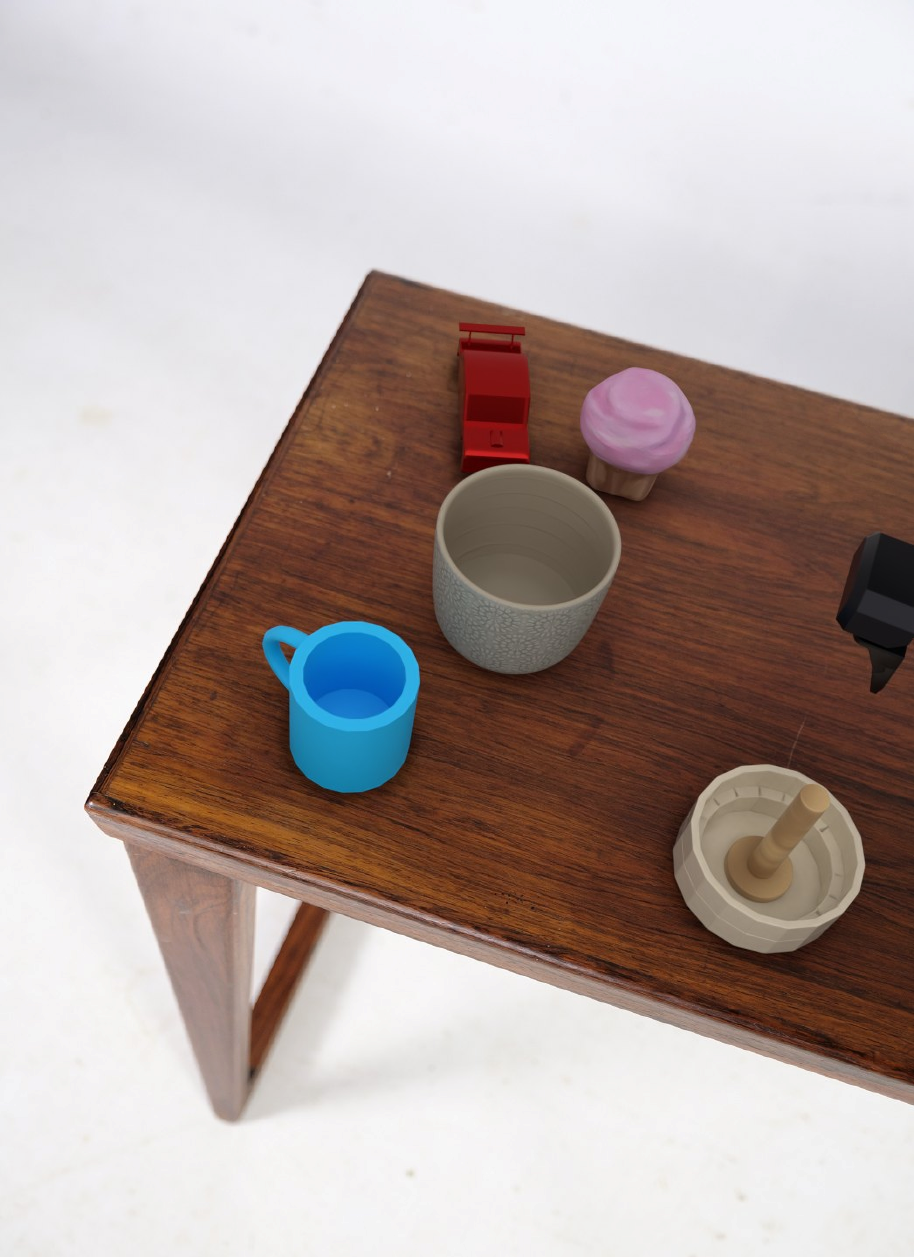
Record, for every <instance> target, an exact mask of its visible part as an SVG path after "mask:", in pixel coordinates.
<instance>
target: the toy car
mask: <svg viewBox="0 0 914 1257" xmlns="http://www.w3.org/2000/svg"><path fill="white" fill-rule="evenodd" d="M458 332H466V333H468V337H465V336H460V337H459V339H458V343H457V352H456V357H458V358H459V359H458V367H457V368H458V370H457V373H458V374H457V384H458V385H457V390H458V391H457V392H458V419H459V421H458V422H459V440H460V441H462V444H461V463H460V470H461V473H471V474H474V473H476V472H479V471H481V470H484V469H487V468H491V467H495V466H500V465H509V464H527V465H530V462H531V451H530V437H529V416H530V407H531V400H532V399H531V383H530V373H529V372H530V370H529V361H528V356H527V354H526V353H523V351H522V342H521V340H520V341H519V340H514V338H515V336H520V337H526V327H525V326H515V325H503V324H502V325H501V324H490V323H489V324H487V323H474V322H462V321H461V322H460V321H459V322H458ZM472 333H480V334H492V335H507V336H510V337H511V338H510V340H507V339H493V338H492V339H491V338H481V337H480V338H477V337H472Z"/></svg>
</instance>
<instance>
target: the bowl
mask: <svg viewBox="0 0 914 1257" xmlns="http://www.w3.org/2000/svg"><path fill="white" fill-rule="evenodd" d="M808 784H816V785H819V786H821V787H823V788H824V789H825V790H826V791H827V793H828V794H829V797H830V805H829V807H828V808H827V810H826V811H825V812H824V813H823V814H822V816H821V817H820V818H819V819H818V820H817V822H816V823H815V824H814V825H813V827H812V828H811V829H810V830H809V831H808V833H807V834H806V835H805V836H804V837H803V839H802V840H801V841H800V842H799V843H798V845H797V846H796V847H795V848H794V849H793V851H792V852H791V853H790V854H789V855H788V856H789V858H790V860H791V863H792V867H793V879H792V883H791V885H790V887H789V888H788V890H787V891H786V892H785V893H784V894H783V895H782V896H781V897H780V898H778V899H777V900H775V901H772V902H766V903H760V902H754V901H751V900H748V899H746V898H744V897H743V896H741V895H740V894H739V893H737V892H736V891H735V890H734V889H733V887H732V886H731V885H730V883H729V882H728V880H727V877H726V874H725V870H724V860H725V856H726V854H727V852H728V850H729V849H730V847H731V846H732V845H733V844H734V843H735V842H736V841H737V840H739V839H741V838H743V837H746V836H762V837H765V836H766V835H767V833H768V832H769V831H770V829H771V828H772V827H773V826H774V824H775V823H776V822H777V820H778V819H779V818H780V816H781V815H782V814H783V812H784V811H785V810H786V809H787V807H788V806H789V805H790V803H791V802H792V801H793V799H794V798H795V797H796V796H797V794H798V793H799V792H800V790H801V789H802V788H803V787H804V786H805V785H808ZM672 848H673V849H672V854H673V855H672V856H673V857H672V858H673V872H674V878H675V881H676V883H677V886H678V888H679V890H680V893H681V895H682V897H683V900H684V902H685V904H686V906H687V907H688V908H689V910H690V911H691V912H692V913H693V914H694V916H696V918H697V919H698V920H699V921H700V922H701V924H702V925H703V926H704V927H705V928H706V929H707V930H708V931H710V932H711V933H713V934H715V935H717V936H718V937H719V938H721V939H722V940H724V941H725V942H728V943H729V944H731V945H732V946H735V947H738V948H741V949H746V950H748V951H749V950H750V951H753V952H757V953H760V954H774V953H787V952H794V951H797V950H798V949H800V948H802V947H805V946H806V945H808V944H810V943H812V942H813V941H816V940H818V939H819V938H820V936H822V935H823V934H824V933H825V932H826V930H828V929H829V928H830V927H831V926H832V925H833V924H834V923H835V922H836V921H837V920H838V919H839V918H841V916H842V915H843V914H844V913H845V912H846V910H847V909H848V908H849V906H850V905H851V904H852V902H853V901H854V900H855V899H856V897H857V896H858V895H859V894H860V890H861V886H862V883H863V877H864V874H865V869H866V861H865V860H866V859H865V855H864V854H865V853H864V848H863V841H862V837H861V833H860V832H859V830H858V828H857V827H856V825H855V823H854V821H853V819H852V817H851V815H850V813H849V812H848V809H847V808H846V807H845V806H844V805H843V804H842V803H841V802H840V801H839V800H838V799H837V798H836V797H835V796H834V795H833V794H832V793H831V792H830V791H829V790H828V789H827V788H826V787H825V786H824V785H822V784H820V783H818V782H816V781H815V780H814V779H811V778H809V777H808V776H806V775H805V774H803V773H802V772H799V771H797V770H793V769H790V768H786V767H781V766H778V765H774V764H768V763H767V764H766V763H765V764H752V765H749V764H748V765H740V766H737V767H735V768H733V769H731V770H728V771H726V772H724V773H721V774H720V775H718V776H716V777H715V778H714V779H713V780H712V781H711V782H710V783H709V784H708V785H707V787H706V788H705V789H704V790H703V791H702V792H701V793H700V794H699V796H698V797H697V799H696V800H695V801H694V803H693V805H692V807H691V809H690V810H689V811H688V814H686V816H685V818H684V819H683V821H682V823H681V825H680V827H679V830H678V832H677V836H676V838H675V842H674V845H673V847H672Z"/></svg>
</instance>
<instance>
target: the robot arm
mask: <svg viewBox="0 0 914 1257" xmlns="http://www.w3.org/2000/svg"><path fill="white" fill-rule="evenodd" d="M835 620H836V622H837V623H838V626H840V628H841V629H842V631H843V632H846V633H849V634H851V635H852V637H853V641H855V643H856V644H857V645H859V646H861V647H863V648H866V649H867V651H868V656H869V659H870V664H871V674H870V675H871V677H870V685H869V692H870V693H871V694H874V695H876V694H878V693H879V692H880V691H883V689H885V687H886V686H887V684H888V683H889V682H890V680H891V679H892V678H893V676H894V674H895V673H896V671H898V668H899V667H900V666H901V664H902V663H903V661H904V660H905V658H906V655H907V650H908V646H909V645H910V644H911V642H912V641H913V640H914V544H913V543H909V542H907V541H904V540H902V539H899V538H897V537H894V536H891V535H889V534H886V533H883V532H880V531H875V532H873V533H871V534H869V535H867V536H864V538H863V539H862V540H861V542H860V543H859V546H858V547H857V549H856V550H855V552H854V554H853V556H852V559H851V563H850V567H849V570H848V573H847V577H846V581H845V584H844V588H843V591H842V595H841V599H840V602H839V605H838V609H837V613H836V617H835Z"/></svg>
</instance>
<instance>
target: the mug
mask: <svg viewBox="0 0 914 1257" xmlns="http://www.w3.org/2000/svg"><path fill="white" fill-rule="evenodd" d="M280 642H282V643H285V644H286V645H288V646H290V647H292V648H294V649H295V650H294V654H293V656H292V658H291V661H290V662H289V661H288V660H287V658H286V656H285V653H284V652H283V650H282V648H281V643H280ZM262 649H263V652H264V657H265V659H266V661H267V662H268V665H269V667H270V668H271V670H272V672H273V673H274V674H275V676H276V677H277V679H278V680H279V681H280V683H281V684H282V685H283V686H284V687H285V689H287V691H288V692H289V750H290V752H291V755H292V758H293V760H294V764H295V765H296V766H297V767H298V768H299V770H300V771H301V772H302V774H303V775H304V776H305V777H306V778H307V779H308V780H310V781H312V782H313V783H314V784H317V785H318V786H320V787H322V788H323V789H326V790H327V789H328V790H330V791H334V792H338V793H343V794H344V793H363V792H366V791H369V790H372V789H375V788H378V787H381V786H383V785H384V784H385V783H386V782H388V781H389V780H390V779H392V778H394V777H395V776H396V775H397V773H398V772H399V770H400V769H401V768H402V766H403V765H404V764H405V762H406V759H407V755H408V752H409V748H410V747H411V746H410V745H411V738H412V733H413V727H414V720H415V715H416V708H417V702H418V696H419V690H420V686H421V685H420V683H421V680H420V668H419V663H418V661H417V659H416V657H415V655H414V652H413V650H412V649H411V647H410V646H409V645H407V643H406V642H405V641H404V640H403V639H402V638H401V637H400V636H399V635H397V634H396V633H394V632H392V631H390V630H389V629H387V628H386V627H383V625H378V624H375V623H370V622H366V621H359V620H357V621H340V622H336V623H332V624H329V625H323V626H322V627H321V628H319V629H317V630H315V631H314V632H313V633H311V634H309V635H308V634H307V633H305V632H303V631H301V630H299V629H298V628H297V629H296V628H294V627H292V626H286V625H276V626H274V627H272V628H269V629H268V630H267V631H266V632H265V633H264V636H263V639H262Z"/></svg>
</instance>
